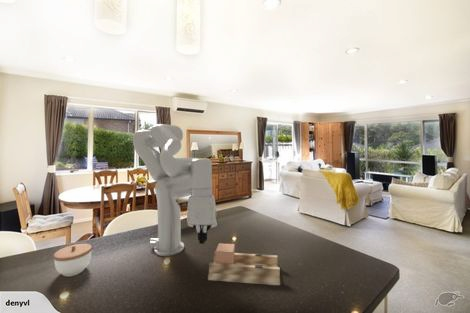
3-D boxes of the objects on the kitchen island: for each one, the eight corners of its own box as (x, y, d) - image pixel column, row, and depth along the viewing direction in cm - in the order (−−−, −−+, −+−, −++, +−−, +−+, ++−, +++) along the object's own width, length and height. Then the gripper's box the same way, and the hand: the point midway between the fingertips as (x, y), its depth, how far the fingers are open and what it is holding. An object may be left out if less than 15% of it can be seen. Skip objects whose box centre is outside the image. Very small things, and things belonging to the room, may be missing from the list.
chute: (208, 279, 70) (208, 266, 70) (215, 260, 82) (215, 249, 82) (280, 285, 68) (280, 271, 67) (276, 265, 80) (276, 252, 79)
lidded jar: (55, 269, 76) (54, 244, 75) (91, 260, 82) (90, 236, 82) (52, 285, 67) (52, 256, 67) (92, 273, 74) (92, 247, 73)
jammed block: (215, 270, 73) (215, 250, 73) (218, 261, 79) (218, 243, 79) (232, 271, 72) (232, 252, 72) (234, 262, 78) (234, 244, 78)
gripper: (178, 194, 73) (179, 246, 73) (220, 194, 71) (221, 247, 71) (185, 190, 80) (186, 237, 80) (223, 190, 78) (224, 238, 79)
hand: (202, 242), depth 76 cm, fingers closed
